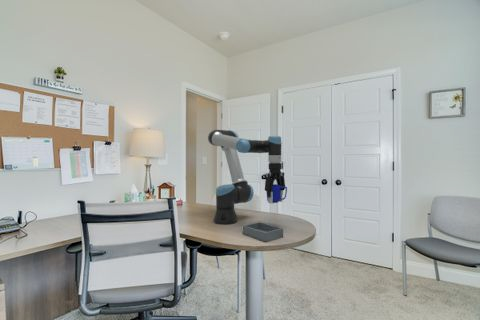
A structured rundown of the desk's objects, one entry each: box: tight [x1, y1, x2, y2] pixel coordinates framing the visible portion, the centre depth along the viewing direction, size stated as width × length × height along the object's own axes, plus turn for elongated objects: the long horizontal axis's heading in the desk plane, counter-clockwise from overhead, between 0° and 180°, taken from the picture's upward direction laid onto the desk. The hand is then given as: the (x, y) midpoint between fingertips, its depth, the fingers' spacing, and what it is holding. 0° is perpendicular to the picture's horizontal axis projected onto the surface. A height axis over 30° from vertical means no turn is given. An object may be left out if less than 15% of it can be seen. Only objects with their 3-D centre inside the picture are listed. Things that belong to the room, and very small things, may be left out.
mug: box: [265, 183, 288, 204], centre depth 143 cm, size 8×12×10 cm
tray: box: [242, 221, 284, 243], centre depth 129 cm, size 17×12×4 cm
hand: (275, 202), depth 142 cm, fingers closed on mug, 7 cm apart
